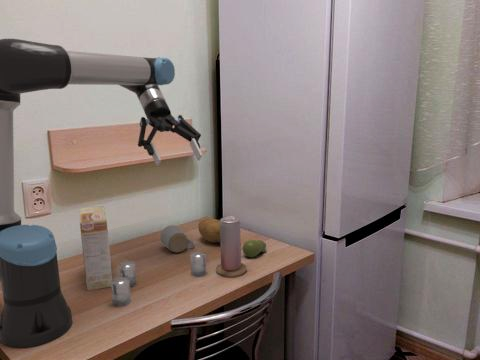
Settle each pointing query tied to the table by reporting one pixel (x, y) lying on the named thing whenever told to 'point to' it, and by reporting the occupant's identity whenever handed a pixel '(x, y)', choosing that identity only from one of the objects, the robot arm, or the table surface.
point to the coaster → (230, 274)
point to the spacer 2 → (198, 263)
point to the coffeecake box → (95, 247)
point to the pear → (253, 247)
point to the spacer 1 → (120, 291)
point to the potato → (210, 229)
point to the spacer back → (128, 272)
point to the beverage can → (230, 243)
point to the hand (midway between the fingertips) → (180, 160)
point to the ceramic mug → (175, 239)
